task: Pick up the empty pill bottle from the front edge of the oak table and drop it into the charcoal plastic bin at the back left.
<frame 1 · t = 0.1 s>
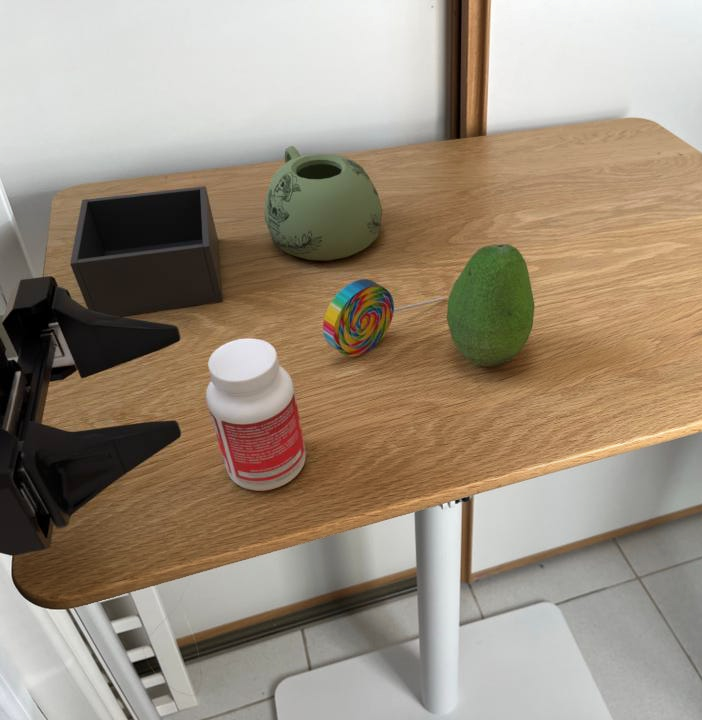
hand: (179, 377, 47), 14 cm above the table, tool horizontal, fingers open, 9 cm apart
lollipop: (391, 332, 73), on the table
pill bottle: (267, 465, 59), on the table
green rounded hollow pot: (321, 232, 86), on the table
fruit: (488, 357, 70), on the table
bin: (159, 276, 78), on the table
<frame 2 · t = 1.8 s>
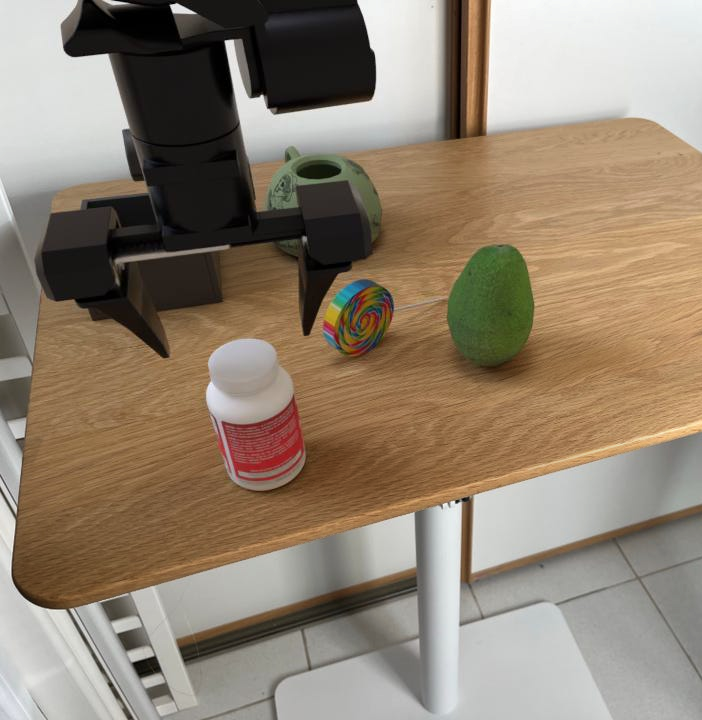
hand: (237, 343, 51), 12 cm above the table, tool pointing down, fingers open, 9 cm apart
nothing on the table moved.
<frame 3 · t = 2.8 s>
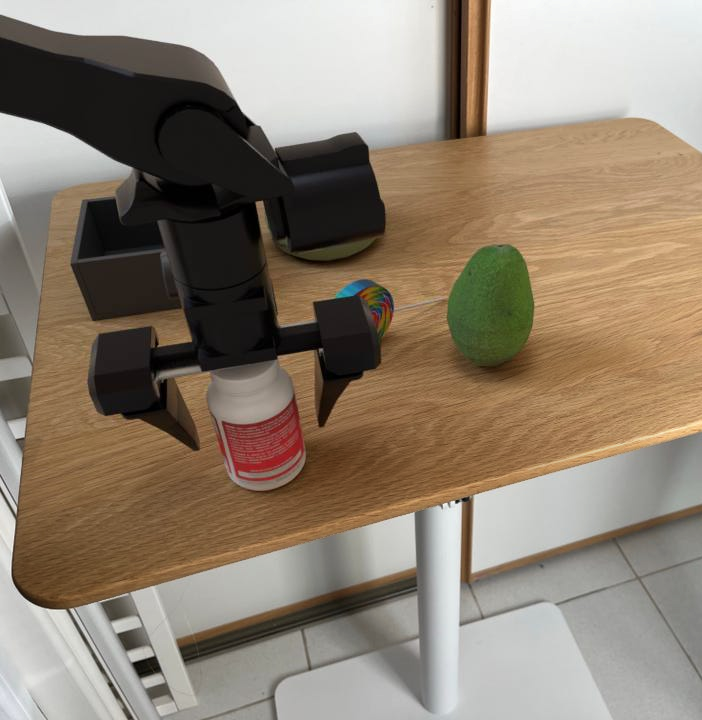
hand: (260, 434, 57), 3 cm above the table, tool pointing down
pill bottle: (267, 465, 59), on the table, touching gripper
everything else where it was.
when the fingers open (7 cm above the table, at t = 9.1 s): pill bottle drops 3 cm, resting on bin.
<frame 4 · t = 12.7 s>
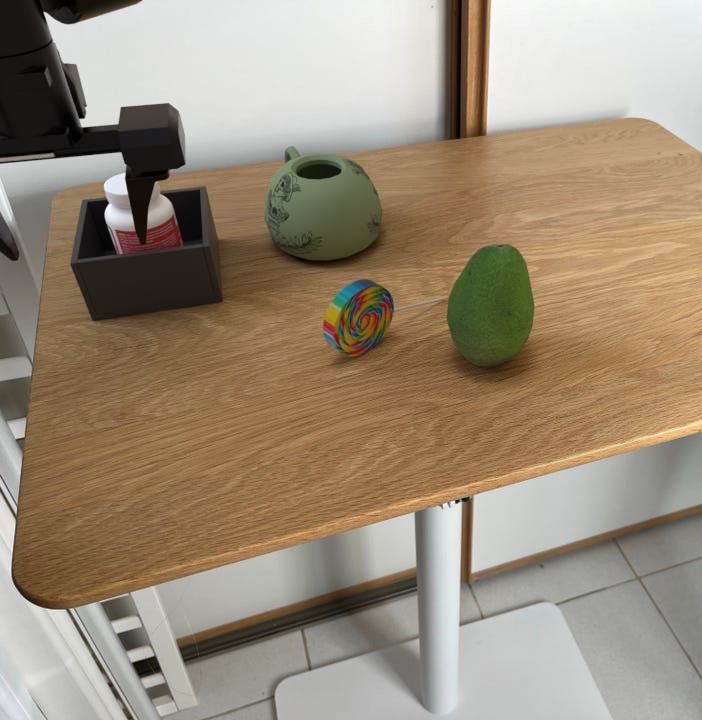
hand: (81, 250, 58), 13 cm above the table, tool pointing down, fingers open, 9 cm apart
pill bottle: (160, 281, 77), resting on bin
everything else where it was.
at the end: pill bottle inside the target area in the bin (1.6 cm from its centre), point 0.4 cm above the bin's base; the gripper is holding nothing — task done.
